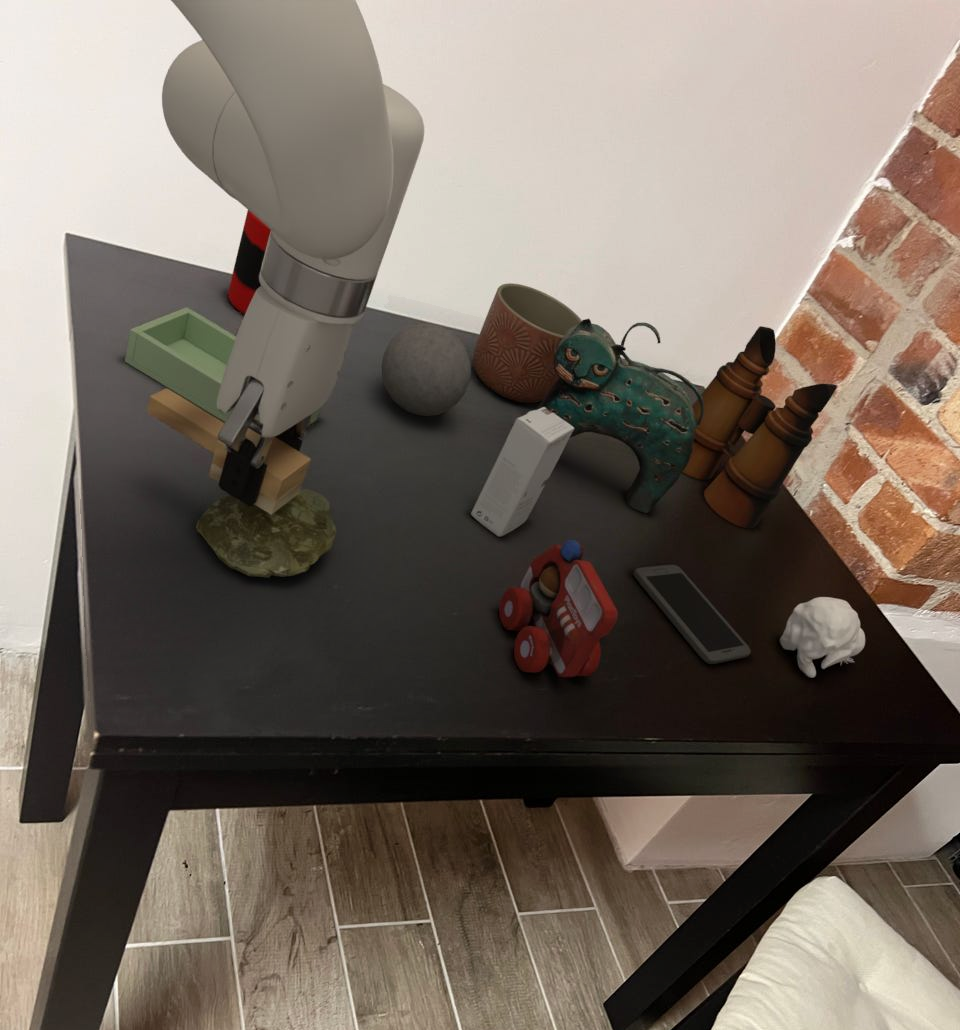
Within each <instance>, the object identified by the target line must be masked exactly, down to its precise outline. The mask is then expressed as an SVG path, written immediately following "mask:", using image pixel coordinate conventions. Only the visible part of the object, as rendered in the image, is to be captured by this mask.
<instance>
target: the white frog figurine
mask: <svg viewBox="0 0 960 1030" xmlns="http://www.w3.org/2000/svg"><path fill="white" fill-rule="evenodd" d="M779 644H780V645H781V647H782V648H783V649H784V650H787V651H792V652H795V651H797V654H796V661H797V665H798V668H799V670H800V671H801V672H802V673H803V674H804V675H805V676H806V677H808V678H811V679H812V678H813V679H814V678H815V677H816V676H817V670H816V666H815V665H814V663H813V660H819V659H821V658H823V657H824V659H823V660H822V661H821V664H820V667H821V669H823V670H825V669H826V668H829V667H831V666H833V665H835V664H838V663H840V665H842V664H843V663H846V664H847V665H848V664H849V663H855V661H854V659H853V658H852V657H855V656H857V655H858V654H860V653H861V652H862V651H863V649H864V648H865V645H866V635H865V632H864V630H863V629H862V628H861V620H860V618H859V614H858V612H857V611H856V610H855V609H854V608H852V606H851V604H850V603H849V602H848V601H846V600H845V599H841V598H836V597H835V598H834V597H829V596H818V597H815V598H812V599H810V600H808V601H806V602H801V603H799V604H797V605H796V606H795V607H794V609H793V611H792V612H791V614H790V615H789V617H788V619H787V622H786V625H785V629H784V630H783V634H782V635H781V636H780V637H779Z"/></svg>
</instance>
